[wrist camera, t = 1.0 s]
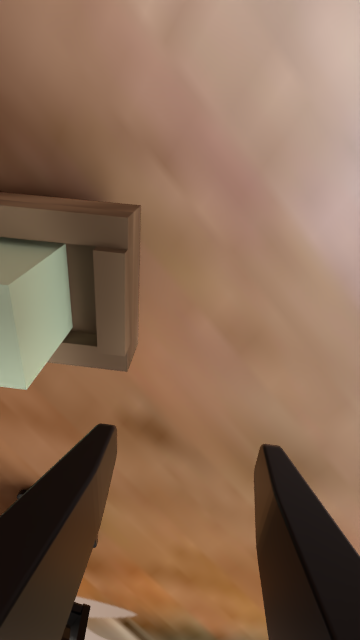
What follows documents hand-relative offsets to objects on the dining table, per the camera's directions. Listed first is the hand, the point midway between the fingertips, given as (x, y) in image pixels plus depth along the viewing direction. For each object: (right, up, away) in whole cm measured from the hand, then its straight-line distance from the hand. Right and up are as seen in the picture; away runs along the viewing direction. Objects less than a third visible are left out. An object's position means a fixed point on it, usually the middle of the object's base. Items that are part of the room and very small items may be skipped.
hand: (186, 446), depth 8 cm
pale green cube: (-7, +5, +7) cm, 11 cm away
